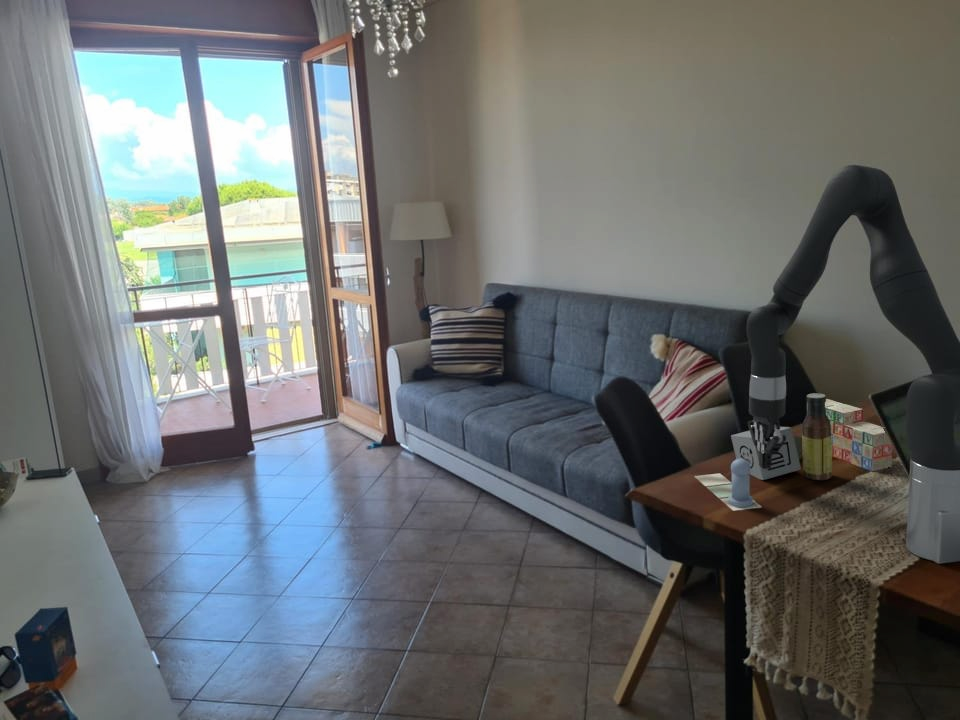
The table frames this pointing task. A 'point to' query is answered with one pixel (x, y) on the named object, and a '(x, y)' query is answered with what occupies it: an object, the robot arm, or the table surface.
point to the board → (721, 489)
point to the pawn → (740, 484)
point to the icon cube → (781, 460)
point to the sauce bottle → (817, 439)
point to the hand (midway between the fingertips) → (765, 467)
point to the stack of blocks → (857, 438)
